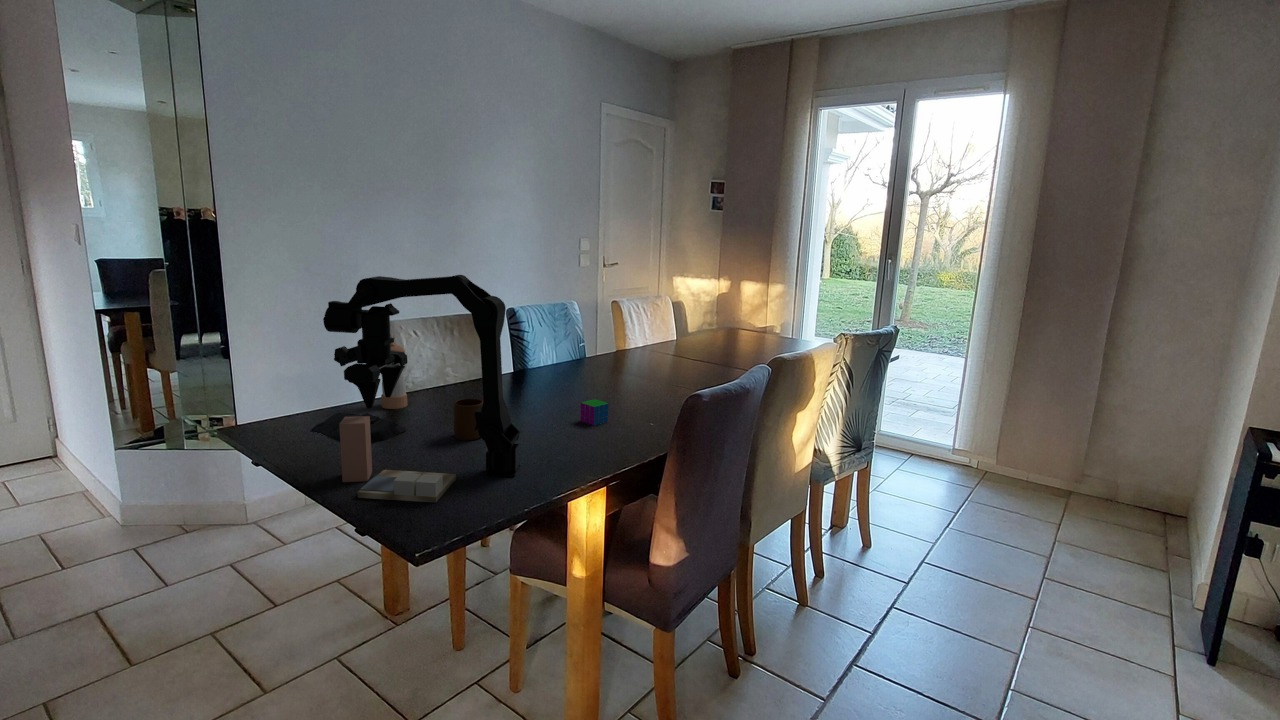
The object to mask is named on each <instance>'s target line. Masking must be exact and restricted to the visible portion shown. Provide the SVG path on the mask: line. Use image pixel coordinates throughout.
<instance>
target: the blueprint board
mask: <svg viewBox="0 0 1280 720" xmlns="http://www.w3.org/2000/svg"><path fill="white" fill-rule="evenodd" d="M401 473H412V474H421V476H422V475H423V474H429V475H443V489H442V491H441V492H440V493H439V494H438V495H437V496H436V497H426V496H416V494H415V495H414V496H411V495H395V494H394V480H395V479H396V478H397V477H398V476H399V475H400V474H401ZM456 480H457V474H456V473H442V472H439V473H438V472H430V471H429V472H428V471H427V472H425V471H414V470H413V471H412V470H409V471H408V470H397V469H396V470H394V469H383V470H382V471H381V472H380V473H378V474H377V475H375V476H373V478H371V479H369V480H368V481H367V483H365V484H364V485H363V486H362V487H361V488H360V489H359V490H358V491H357V498H360V499H371V500H372V499H374V500H388V501H390V500H391V501H405V502H421V503H437V502H438V501H439V500H440V499H441V497H443V495H444V494H445V493H446V492H447V490H448V489H449V488H450V487H451V486H452V485H453V483H454V482H455V481H456Z"/></svg>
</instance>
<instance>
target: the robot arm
mask: <svg viewBox="0 0 1280 720" xmlns="http://www.w3.org/2000/svg"><path fill="white" fill-rule="evenodd" d="M440 295H453V296H454V297H455V298H456V299H457V300H458V302H459V303H460V304H461V306H462V307H464V309H465V310H467V312H469V313H471V318H472V322H473V323H472V324H473V327H474V330H475V331H476V335H477V336H478V338H479V342H480V343H479V346H480V365H481V367H480V368H481V381H482V382H481V383H482V398H483V405H482V406H481V407H480V408H479V409H478V410H476V411H475V419H476V427H475V430H477V429H478V434H479V436H480V438H479V439H481V440H483V441H484V443H485V446H486V448H487V451H486V453H485V470H486V472H485V475H486V476H492V477H507V478H508V477H511V478H514V477H515V476H516V475H517V473H518V471H519V470H520V468H521V464H519V463H520V462H519V456H520V455H519V453H520V452H519V450H520V448H519V447H520V446H519V445H520V443H517V441H519V438H520V435H521V430H519V429H518V428H517V427H516V426H515V425H514V424H513V423H512V421H511V418H510V412H509V409H508V406H507V403H506V401H505V400H504V388H503V368H502V365H503V364H502V347H501V335H502V332H503V328H504V324H505V318H506V311H507V310H506V304H505V303H504V301H503V299H501V298H500V297H499V296H496V295H491V294H490V293H489V292H488V291H486V290H485V289H483V288H482V287H481V286H478V285H477V284H475V283H474V282H473V281H472V280H470V279H469V278H468V277H467V276H466V275H463V274H456V275H450V276H438V277H436V276H435V277H423V278H411V279H403V278H397V277H391V276H380V275H378V276H371V277H366V278H362V279H359V281H358V283H357V284H356V287H355V293H354V294H353V295H352V297H351V298H350V300H349V301H348V302H345V301H339V300H332V301H328V304H327V305H328V307H327V308H326V310H325V313H324V317H323V318H322V319H323V326H324V328H325V329H326V331H327V332H329V333H344V334H345V333H348V334H357V333H358V332H359V330H360V329H361V335H362V336H361V339H358V340H357V345H356V346H352V347H350V348H348V347H347V346H345V345H343V346H341V347H338V348H335V349H334V358H333V360H334V362H336V363H338V364H339V365H340V367H344V366H346V365H347V364H351V363H353V364H352V365H349V366H346V368H345V369H344V370H343V380H344V381H347V382H348V383H350V384H353V385H355V386H356V387H357V388H358V391H359V393H360V396H361V397H362V400H363V402H364V405H365V407H366V409H373V407H374V404H375V400H376V397H377V393H378V389H379V386H380V383H381V381H382V380H383V387H384V393H385V397H391V395H392V393H393V390H394V388H395V386H396V384H397V381H398V379H399V377H400V375H401V373H402V371H403V372H404V369H405V368H406V366H405V365H407V364H408V355H407V353H406V352H405V353H404V352H398V351H391V343H395V337H391V321H390V320H391V319H390V316H395V315H398V314H400V310H399V309H398V308H396V307H395V306H394V305H393V304H392V303H391V302H390V303H387V304H385V305H384V306H379V305H378V306H377V305H376V304H382V303H384V302H388V301H392V300H396V299H400V298H410V297H427V296H440ZM374 305H376V306H374ZM366 307H370V308H369V309H363V308H366ZM354 362H356V363H354ZM399 364H400V365H399ZM380 376H381V378H380Z"/></svg>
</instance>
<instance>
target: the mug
mask: <svg viewBox="0 0 1280 720" xmlns="http://www.w3.org/2000/svg"><path fill="white" fill-rule="evenodd" d="M482 405H483V397H482V398H481V399H479V398H461V399H460V398H459V399H457V400H455V401H454V402H453V433H454V434H453V435H454V438H456V439H457V440H460V441H475V440H479V439H481V438H480V436H479V434H478V429H477V430H475V427H476V419H475V411H476V410H478V409H479V408H480V407H481V406H482Z"/></svg>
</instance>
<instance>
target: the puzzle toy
mask: <svg viewBox="0 0 1280 720" xmlns="http://www.w3.org/2000/svg"><path fill="white" fill-rule="evenodd" d="M609 406H610V405H609V403H608V402H605V401H602V400H598V399H596V398H594V399H591V400H585V401H582V402H580V415H579V416H580V422H581V421H582V423H584V422H585V424H587V423H589V424H588V425H590V424H592V425H591V426H593V425H595V426H598V425H601V424H600V423H603V422H606V423H608V422H609ZM607 421H608V422H607ZM597 424H598V425H597ZM603 424H604V423H603Z"/></svg>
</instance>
